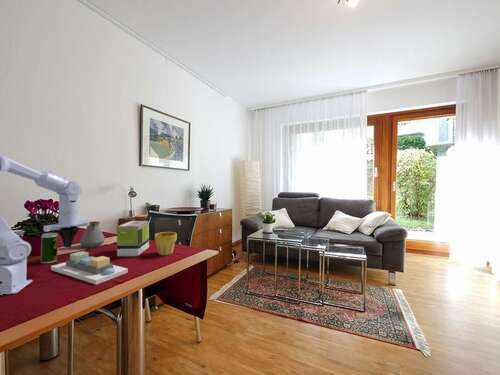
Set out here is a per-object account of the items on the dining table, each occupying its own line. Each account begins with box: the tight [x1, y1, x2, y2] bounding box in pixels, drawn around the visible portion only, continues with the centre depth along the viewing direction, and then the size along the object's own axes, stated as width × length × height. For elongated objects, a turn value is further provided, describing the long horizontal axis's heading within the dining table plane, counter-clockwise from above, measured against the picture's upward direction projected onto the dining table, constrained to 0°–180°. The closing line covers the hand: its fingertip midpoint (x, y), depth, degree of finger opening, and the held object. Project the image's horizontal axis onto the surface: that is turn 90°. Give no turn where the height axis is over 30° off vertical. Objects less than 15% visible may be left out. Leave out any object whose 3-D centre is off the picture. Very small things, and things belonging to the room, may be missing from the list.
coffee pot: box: [79, 221, 106, 249], centre depth 118 cm, size 21×12×15 cm, turn 35°
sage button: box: [69, 251, 90, 262], centre depth 90 cm, size 4×4×3 cm
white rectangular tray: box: [50, 259, 129, 285], centre depth 88 cm, size 28×12×4 cm, turn 66°
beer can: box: [40, 232, 59, 265], centre depth 97 cm, size 5×5×12 cm
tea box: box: [116, 220, 150, 257], centre depth 114 cm, size 15×10×15 cm, turn 5°
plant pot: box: [154, 231, 178, 256], centre depth 112 cm, size 10×10×10 cm
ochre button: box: [90, 255, 111, 268], centre depth 85 cm, size 4×4×3 cm
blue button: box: [80, 256, 97, 265], centre depth 88 cm, size 4×4×3 cm
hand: (67, 246), depth 87 cm, fingers closed
